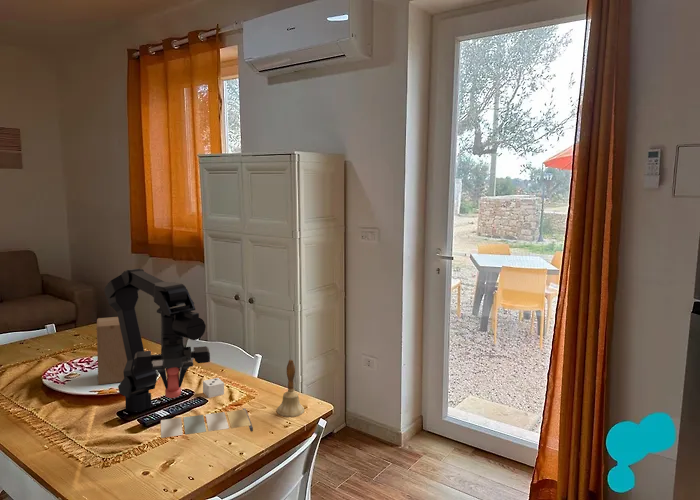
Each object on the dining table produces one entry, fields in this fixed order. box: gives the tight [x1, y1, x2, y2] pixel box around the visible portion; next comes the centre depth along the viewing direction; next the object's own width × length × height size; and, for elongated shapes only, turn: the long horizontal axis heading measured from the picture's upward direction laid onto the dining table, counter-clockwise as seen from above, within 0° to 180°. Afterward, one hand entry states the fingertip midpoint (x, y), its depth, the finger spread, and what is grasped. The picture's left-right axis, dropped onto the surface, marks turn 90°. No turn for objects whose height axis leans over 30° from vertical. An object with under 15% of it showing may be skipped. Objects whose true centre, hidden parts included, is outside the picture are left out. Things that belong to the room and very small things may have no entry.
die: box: [202, 377, 225, 398], centre depth 157 cm, size 5×5×5 cm
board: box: [160, 408, 254, 439], centre depth 139 cm, size 24×12×1 cm, turn 111°
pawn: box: [164, 367, 182, 399], centre depth 133 cm, size 4×4×9 cm
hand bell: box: [276, 359, 305, 418], centre depth 149 cm, size 8×8×16 cm
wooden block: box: [96, 316, 127, 385], centre depth 168 cm, size 10×10×20 cm
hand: (173, 387), depth 134 cm, fingers closed on pawn, 3 cm apart
